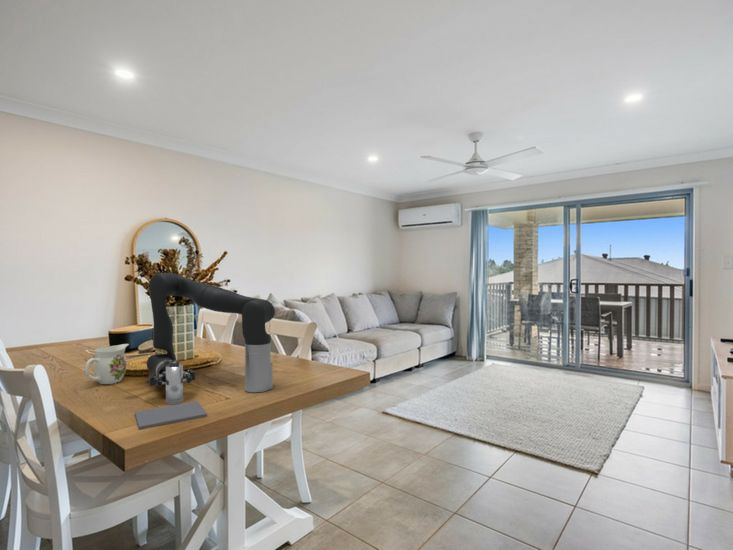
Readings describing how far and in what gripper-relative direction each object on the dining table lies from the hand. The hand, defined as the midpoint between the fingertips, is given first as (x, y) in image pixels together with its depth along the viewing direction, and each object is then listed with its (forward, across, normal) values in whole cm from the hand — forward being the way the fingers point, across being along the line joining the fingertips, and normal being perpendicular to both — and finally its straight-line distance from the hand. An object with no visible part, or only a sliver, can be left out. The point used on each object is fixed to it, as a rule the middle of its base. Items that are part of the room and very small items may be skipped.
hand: (175, 382), depth 133 cm
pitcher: (-40, -18, +7) cm, 44 cm away
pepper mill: (-2, 0, +7) cm, 7 cm away
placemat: (+11, -3, +7) cm, 13 cm away
